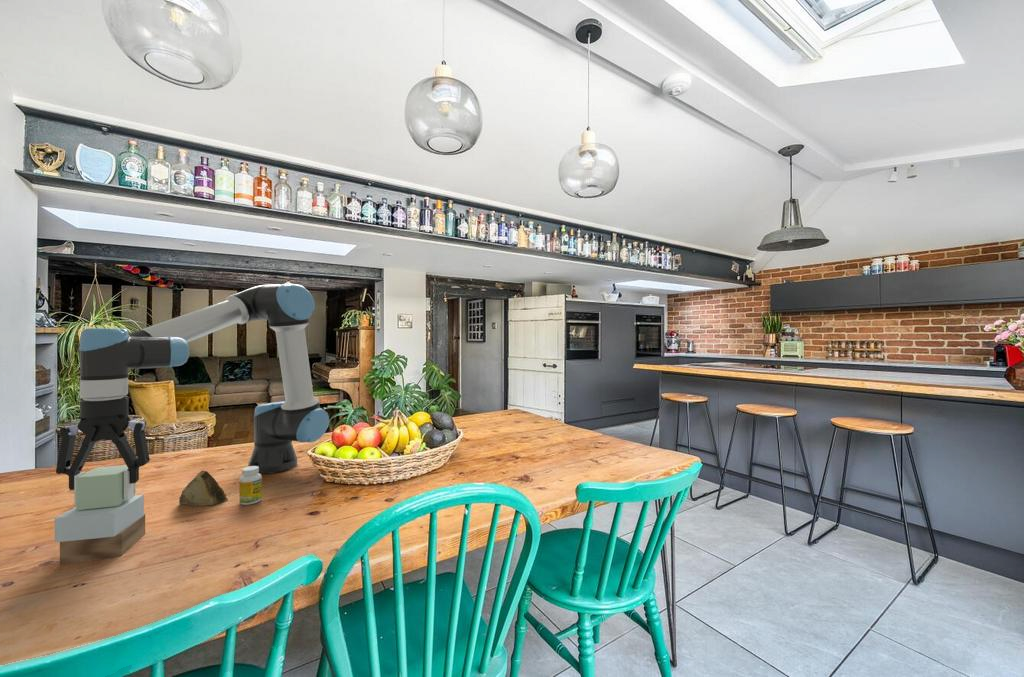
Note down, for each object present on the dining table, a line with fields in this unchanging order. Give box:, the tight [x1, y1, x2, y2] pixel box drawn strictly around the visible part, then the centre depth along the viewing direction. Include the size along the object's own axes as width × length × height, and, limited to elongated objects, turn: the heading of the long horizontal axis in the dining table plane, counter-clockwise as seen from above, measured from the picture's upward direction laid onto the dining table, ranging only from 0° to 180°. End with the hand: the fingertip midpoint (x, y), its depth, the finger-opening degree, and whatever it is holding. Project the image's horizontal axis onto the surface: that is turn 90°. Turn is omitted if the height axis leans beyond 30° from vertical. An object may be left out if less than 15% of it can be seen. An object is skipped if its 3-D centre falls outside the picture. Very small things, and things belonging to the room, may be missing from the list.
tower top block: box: [54, 494, 145, 543], centre depth 88 cm, size 10×10×5 cm
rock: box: [178, 469, 228, 506], centre depth 114 cm, size 11×9×10 cm
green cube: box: [75, 464, 137, 510], centre depth 90 cm, size 7×7×7 cm
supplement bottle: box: [238, 466, 263, 506], centre depth 114 cm, size 5×5×10 cm
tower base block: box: [59, 513, 146, 566], centre depth 89 cm, size 10×10×5 cm
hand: (105, 500), depth 89 cm, fingers open, 7 cm apart
